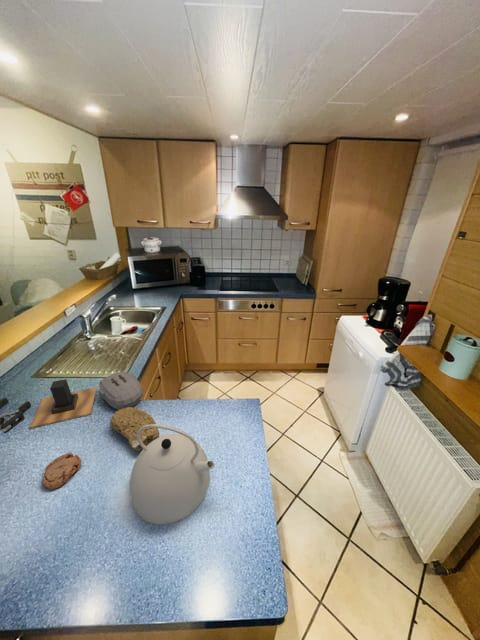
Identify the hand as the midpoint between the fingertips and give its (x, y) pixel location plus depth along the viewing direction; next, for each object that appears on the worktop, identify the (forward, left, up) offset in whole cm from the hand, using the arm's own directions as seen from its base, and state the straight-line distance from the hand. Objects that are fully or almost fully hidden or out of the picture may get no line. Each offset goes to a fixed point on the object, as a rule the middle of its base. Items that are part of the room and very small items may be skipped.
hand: (18, 401), depth 81 cm
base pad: (+7, +13, -16) cm, 22 cm away
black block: (+7, +13, -16) cm, 21 cm away
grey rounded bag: (+29, +12, -17) cm, 35 cm away
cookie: (+12, -18, -17) cm, 27 cm away
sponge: (+33, -10, -17) cm, 38 cm away
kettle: (+44, -33, -17) cm, 58 cm away
